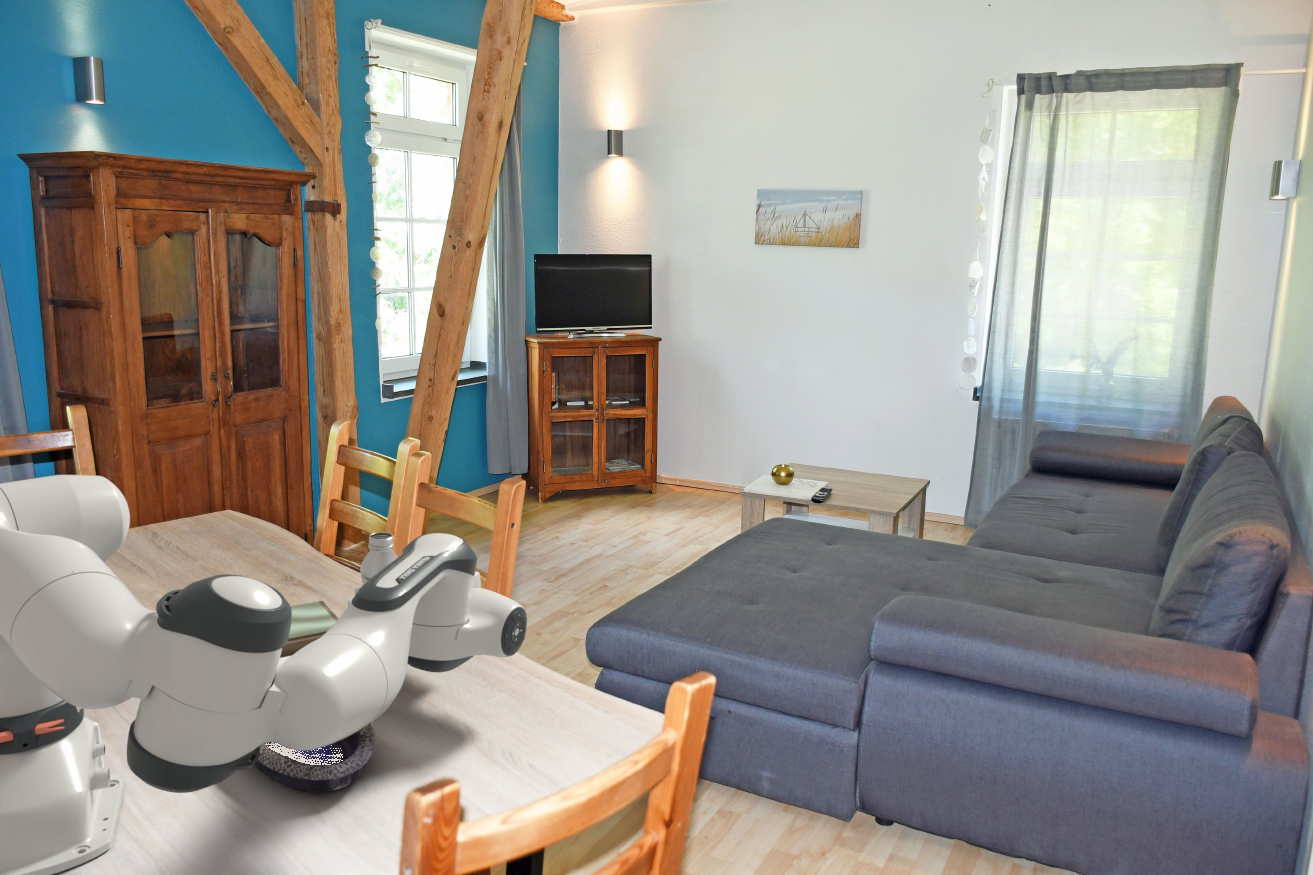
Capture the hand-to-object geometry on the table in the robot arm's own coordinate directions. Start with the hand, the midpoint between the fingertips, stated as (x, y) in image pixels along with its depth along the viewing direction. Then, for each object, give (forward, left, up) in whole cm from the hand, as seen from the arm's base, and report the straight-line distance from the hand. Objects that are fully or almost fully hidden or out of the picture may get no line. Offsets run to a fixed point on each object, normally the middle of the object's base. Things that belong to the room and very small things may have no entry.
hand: (378, 585), depth 153 cm
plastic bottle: (-1, 0, -12) cm, 12 cm away
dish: (-21, +18, -13) cm, 30 cm away
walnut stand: (+15, +10, -12) cm, 22 cm away
